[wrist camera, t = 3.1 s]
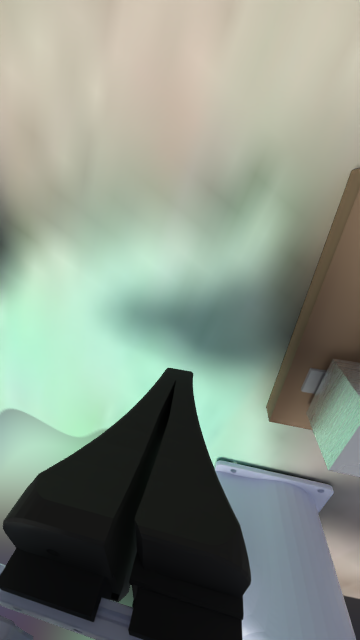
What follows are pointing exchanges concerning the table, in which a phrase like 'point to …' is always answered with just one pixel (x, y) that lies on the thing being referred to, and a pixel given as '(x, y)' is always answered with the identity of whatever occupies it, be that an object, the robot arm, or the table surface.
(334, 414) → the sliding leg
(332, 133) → the table surface
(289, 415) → the gauge board
